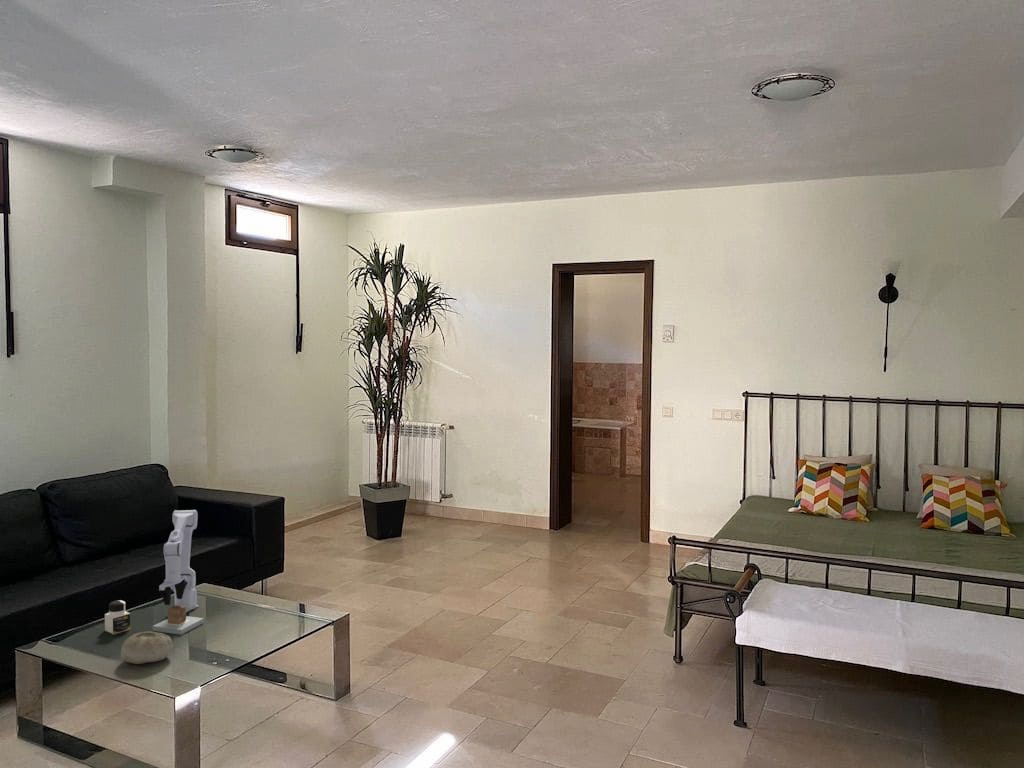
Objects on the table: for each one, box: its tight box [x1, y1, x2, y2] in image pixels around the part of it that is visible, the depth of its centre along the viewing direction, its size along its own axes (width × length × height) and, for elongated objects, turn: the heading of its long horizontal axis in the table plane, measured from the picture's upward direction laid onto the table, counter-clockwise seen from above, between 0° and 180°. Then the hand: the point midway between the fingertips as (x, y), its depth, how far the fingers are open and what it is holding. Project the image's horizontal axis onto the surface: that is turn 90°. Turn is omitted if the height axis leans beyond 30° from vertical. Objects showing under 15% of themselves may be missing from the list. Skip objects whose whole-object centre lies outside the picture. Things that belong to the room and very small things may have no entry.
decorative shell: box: [120, 630, 174, 665], centre depth 297 cm, size 18×18×10 cm
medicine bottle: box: [104, 599, 131, 635], centre depth 327 cm, size 7×7×12 cm
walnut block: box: [167, 604, 187, 624], centre depth 332 cm, size 5×5×6 cm
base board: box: [152, 615, 205, 636], centre depth 332 cm, size 14×14×2 cm
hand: (173, 601), depth 334 cm, fingers open, 7 cm apart
